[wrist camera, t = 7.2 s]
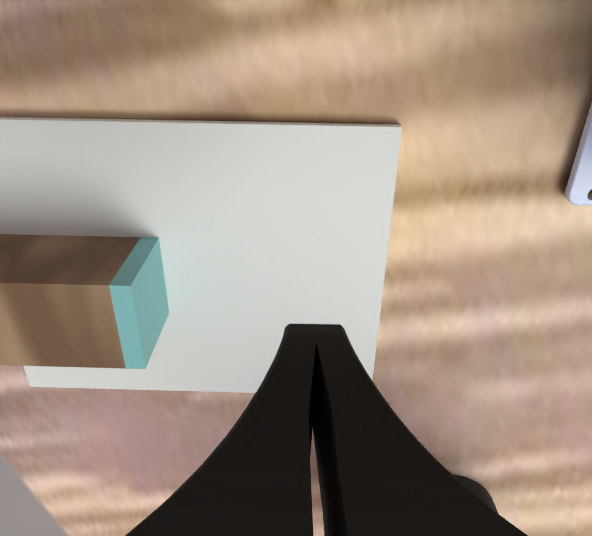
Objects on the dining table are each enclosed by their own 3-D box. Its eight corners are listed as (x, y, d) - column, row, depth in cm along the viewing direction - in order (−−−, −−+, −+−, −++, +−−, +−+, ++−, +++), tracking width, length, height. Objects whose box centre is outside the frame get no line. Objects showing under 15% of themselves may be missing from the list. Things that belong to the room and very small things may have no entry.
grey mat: (400, 124, 20) (401, 127, 19) (369, 390, 27) (370, 396, 26) (-54, 115, 20) (-61, 118, 20) (33, 381, 27) (30, 386, 27)
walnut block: (130, 285, 18) (-111, 280, 19) (145, 369, 20) (-73, 363, 21) (159, 237, 22) (-45, 233, 22) (169, 312, 24) (-17, 307, 24)
